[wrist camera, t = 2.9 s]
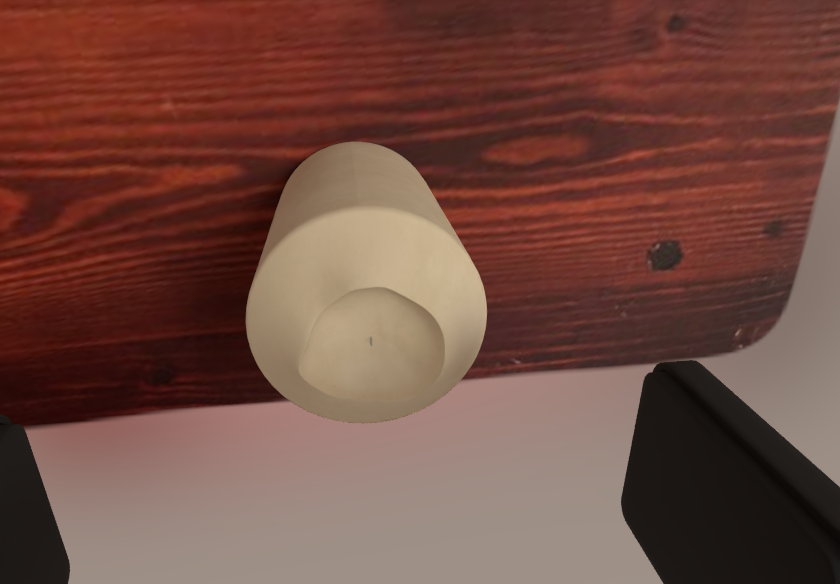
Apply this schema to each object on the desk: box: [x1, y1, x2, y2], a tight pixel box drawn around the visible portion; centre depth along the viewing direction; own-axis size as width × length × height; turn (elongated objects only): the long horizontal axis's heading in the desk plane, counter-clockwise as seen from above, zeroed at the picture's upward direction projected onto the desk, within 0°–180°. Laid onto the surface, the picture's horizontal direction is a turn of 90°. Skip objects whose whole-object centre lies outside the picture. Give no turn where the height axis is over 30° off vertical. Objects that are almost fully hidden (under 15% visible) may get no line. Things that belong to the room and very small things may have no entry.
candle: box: [246, 142, 487, 423], centre depth 17 cm, size 6×6×10 cm
